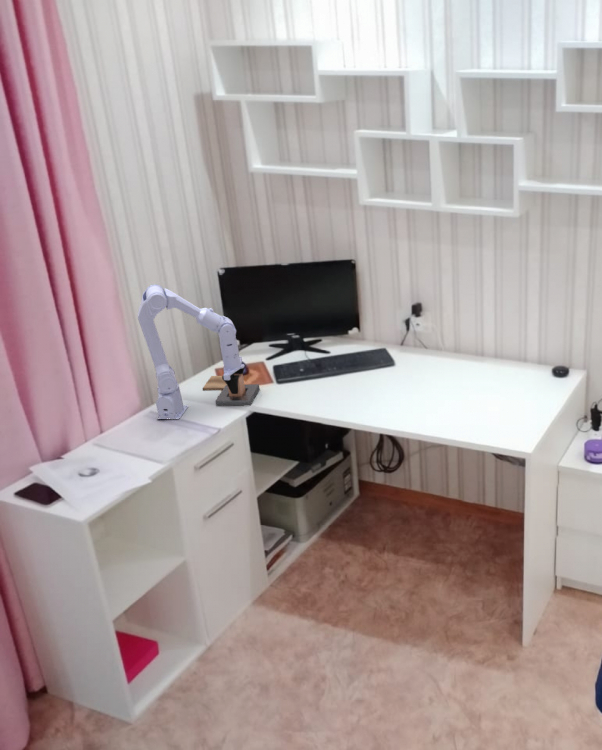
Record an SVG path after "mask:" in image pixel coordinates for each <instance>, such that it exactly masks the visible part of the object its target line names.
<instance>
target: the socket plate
mask: <svg viewBox="0 0 602 750" xmlns="http://www.w3.org/2000/svg"><path fill="white" fill-rule="evenodd" d="M244 385H245V391H246V393H245V394H244V396H238V397H229V391H228V386H227V385H226V386H225V387H224V389H223V390H221V392H220V393H219V394H218V396H217V398H216V399H215V406H216V407H245V406H244V405H250V404H251V405H252V403H253V402H252V401H254V400H255V398H256V396H257V395H258V393H259V392H260V389H261V388H260V384H257V383H256V384H253V383H252V384H244ZM253 399H254V400H253ZM251 402H252V403H251ZM251 405H250V406H251Z"/></svg>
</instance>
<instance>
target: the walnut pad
mask: <svg viewBox="0 0 602 750" xmlns="http://www.w3.org/2000/svg"><path fill="white" fill-rule="evenodd" d="M222 376H223V375H211V376H210V377H209V379H208V380H207V381H206V383H205V384H204V385H203V387H202V391H222V389H224V387H225V386H226V385H227V384H226V382H225V381H224V380H223V379H222Z"/></svg>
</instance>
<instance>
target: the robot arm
mask: <svg viewBox="0 0 602 750" xmlns="http://www.w3.org/2000/svg"><path fill="white" fill-rule="evenodd" d="M165 308H166V310H171V309H177V310H180V311H182V312H184V313H186V314H188V315H189V316H192V317H194V318H195V320H196V323H197V324H199V325H200V326H203V327H204V328H205V329H208V330H210V331H211V332H213V333H217V335H218V336H219V337H218V338H219V346H220V353H221V358H222V364H223V375H221V376H222V379H223V380H224V381H225V382H226V384H227V385H228V387H229V389H230V391H231V393H232V394H237V393H238V378H239V375H234V374H243V375H244V373H245V368H246V366H245V364H244V363H242V362H243V358H242V356H240V351H239V346H238V340H237V338H236V337H237V336H236V335H237V329H236V326H235V324H234V323H233V321H232V320H231V319H230V318H229V317H226V316H224V315H221V314H218V313H216V312H214V309H213V308H211V307H209V308H208V307H203V308H200V307H198V306H196V305H195V304H193V303H192V302H190V301H189V300H187V299H185V298H184V297H182V296H180V295H179V294H177V293H175V292H174V291H172V290H170V289H168V288H166V287H164V288H163V286H161V285H159V284H151V285H148V286H147V288H146V289H145V290H144V292H143V293H142V296H141V301H140V303H139V307H138V311H137V320H138V323H139V325H140V328H141V331H142V334H143V337H144V340H145V342H146V346H147V348H148V351H149V354H150V357H151V360H152V362H153V365H154V368H155V371H156V372H155V377H156V381H157V393H158V394H157V395H158V396H157V399H156V402H155V406H156V410H157V414H158V416H159V419H167V418H168V419H169V418H170V419H176V418H177V419H179V418H180V419H181V418H182V416H183V415H184V414H185V412H186V411H187V409H188V408H189V405H184V403H183V399H182V393H181V389H180V385H179V383H178V380H177V379H176V375H175V374H176V373H175V370H174V369H173V367H172V366H170V364H169V360H168V359H167V355H166V353H165V350H164V347H163V344H162V341H161V338H160V336H159V332H158V330H157V327H156V324H155V321H154V320H155V318H156V317H157V315H158V314H159V313H161V312H162V311H163V310H164V309H165ZM180 419H179V420H180Z"/></svg>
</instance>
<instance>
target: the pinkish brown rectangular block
mask: <svg viewBox="0 0 602 750" xmlns="http://www.w3.org/2000/svg"><path fill="white" fill-rule="evenodd" d="M234 375H239V378H238V393H237V394H232V393H231V391H230V389H229V387H228V391H229V397H238V396H244V394H245V393H246V391H245V385H246V384H245V380H244V373H243V374H234ZM227 386H228V385H227Z"/></svg>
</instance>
